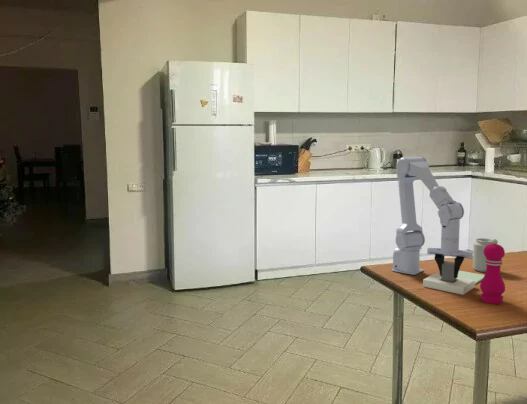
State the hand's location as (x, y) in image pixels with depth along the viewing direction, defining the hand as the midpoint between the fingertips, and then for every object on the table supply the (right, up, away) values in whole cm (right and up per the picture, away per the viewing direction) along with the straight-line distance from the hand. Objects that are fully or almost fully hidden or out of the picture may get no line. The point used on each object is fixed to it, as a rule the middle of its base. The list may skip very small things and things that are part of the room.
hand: (448, 276), depth 170 cm
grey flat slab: (0, -4, +1) cm, 4 cm away
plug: (0, -3, 0) cm, 3 cm away
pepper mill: (+8, -6, -14) cm, 17 cm away
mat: (+10, -2, +11) cm, 14 cm away
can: (+21, -1, +19) cm, 28 cm away
